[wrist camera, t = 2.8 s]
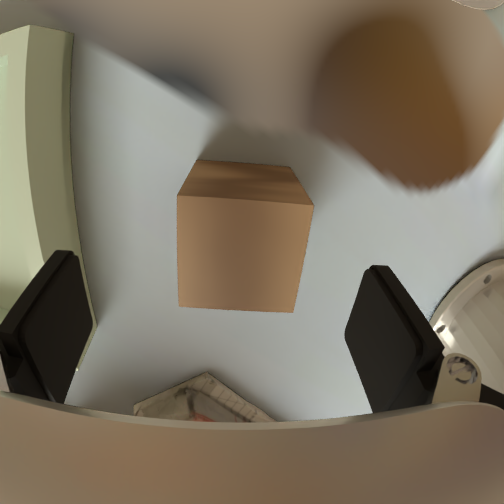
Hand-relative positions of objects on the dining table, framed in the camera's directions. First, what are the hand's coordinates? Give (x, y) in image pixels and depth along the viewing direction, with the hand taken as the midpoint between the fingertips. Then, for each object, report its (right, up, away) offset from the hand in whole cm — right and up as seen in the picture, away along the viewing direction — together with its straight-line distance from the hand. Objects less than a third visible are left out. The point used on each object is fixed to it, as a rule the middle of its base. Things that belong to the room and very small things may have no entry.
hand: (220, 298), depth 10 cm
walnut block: (0, +4, +8) cm, 9 cm away
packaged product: (-1, -16, +20) cm, 26 cm away
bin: (-18, +5, +6) cm, 19 cm away
